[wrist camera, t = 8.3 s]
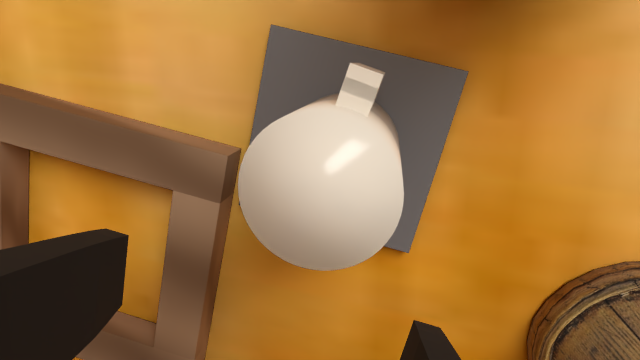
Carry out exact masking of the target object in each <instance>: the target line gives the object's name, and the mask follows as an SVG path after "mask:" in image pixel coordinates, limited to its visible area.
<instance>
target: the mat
mask: <svg viewBox="0 0 640 360" xmlns="http://www.w3.org/2000/svg"><path fill="white" fill-rule="evenodd" d="M350 63H361V64H364V65H366V66H369V67H372V68H375V69H377V70H380V71H383V72H385V75H384V77H383V80H382V83H381V85H380V88H379V91H378V93H377V96H376V99H375V101H374V102H376V103H377V104H378V105H380V106H381V107H382V108H383V109H384V110H385V111H386V112H387V113H388V115H389V116H390V118H391V119H392V121H393V123H394V125H395V127H396V130H397V132H398V137H399V145H400V155H401V166H402V176H403V187H404V202H403V209H402V213H401V217H400V220H399V223H398V225H397V227H396V229H395V231H394V233H393V235H392V236H391V237H390V239H389V240H388V242H387V243H386V244H385V245H384V246H385V247H389V248H392V249H396V250H399V251H403V252H406V253H409V250H410V247H411V244H412V241H413V238H414V235H415V232H416V229H417V226H418V223H419V220H420V217H421V214H422V211H423V208H424V205H425V202H426V199H427V196H428V193H429V190H430V187H431V184H432V181H433V178H434V175H435V172H436V169H437V166H438V163H439V160H440V156H441V153H442V150H443V147H444V144H445V141H446V138H447V135H448V132H449V129H450V126H451V123H452V120H453V117H454V114H455V111H456V108H457V105H458V102H459V99H460V96H461V93H462V90H463V87H464V84H465V81H466V78H467V75H468V72H469V71H464V70H460V69H456V68H452V67H448V66H443V65H439V64H435V63H431V62H427V61H422V60H418V59H414V58H410V57H406V56H401V55H397V54H393V53H389V52H385V51H380V50H376V49H372V48H368V47H364V46H359V45H355V44H351V43H347V42H343V41H338V40H334V39H330V38H326V37H322V36H317V35H313V34H309V33H305V32H301V31H296V30H292V29H288V28H284V27H279V26H275V25H271V28H270V33H269V39H268V44H267V50H266V56H265V61H264V67H263V72H262V78H261V83H260V89H259V95H258V100H257V106H256V111H255V117H254V122H253V128H252V134H251V139H250V144H251V143H252V142H253V140H254V139H255V137H256V136H257V135H258V134H259V133H260V132H261V131H262V130H263V129H265V128H266V127H267V126H268V125H270V124H271V123H273V122H274V121H276V120H278V119H280V118H282V117H284V116H286V115H288V114H290V113H292V112H294V111H296V110H298V109H300V108H302V107H304V106H306V105H308V104H310V103H312V102H314V101H316V100H318V99H320V98H323V97H325V96H328V95H332V94H336V93H340V90H341V87H342V84H343V81H344V79H345V76H346V73H347V70H348V67H349V64H350ZM249 146H250V145H249ZM239 205H240V201H239Z"/></svg>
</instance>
